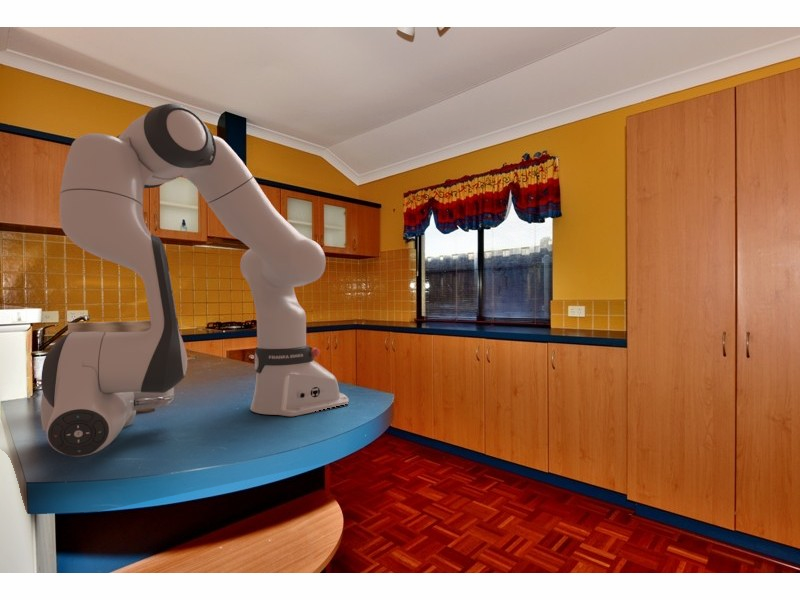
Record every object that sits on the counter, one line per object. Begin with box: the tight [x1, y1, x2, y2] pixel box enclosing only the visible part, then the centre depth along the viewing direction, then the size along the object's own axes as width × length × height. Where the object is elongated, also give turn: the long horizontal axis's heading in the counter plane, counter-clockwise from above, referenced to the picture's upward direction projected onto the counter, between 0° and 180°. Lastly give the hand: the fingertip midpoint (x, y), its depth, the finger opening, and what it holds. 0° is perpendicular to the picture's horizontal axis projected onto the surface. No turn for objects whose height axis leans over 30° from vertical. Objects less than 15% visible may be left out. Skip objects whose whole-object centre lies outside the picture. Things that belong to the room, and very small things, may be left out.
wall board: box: [67, 320, 151, 334], centre depth 101 cm, size 20×2×20 cm, turn 120°
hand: (119, 389), depth 85 cm, fingers closed on salt shaker, 3 cm apart
